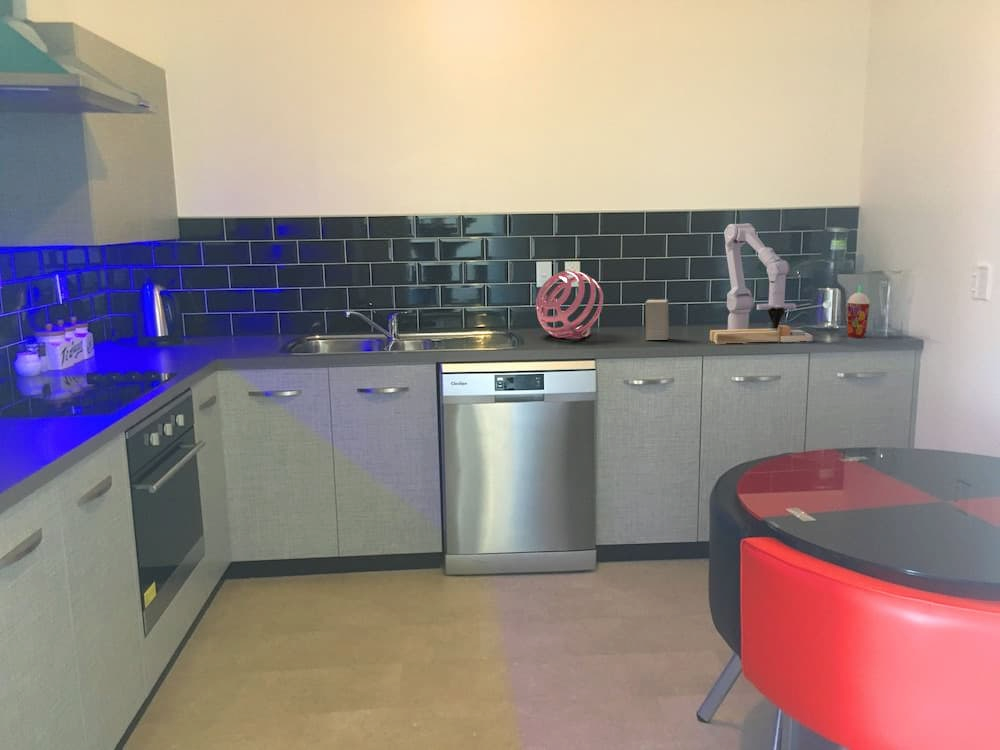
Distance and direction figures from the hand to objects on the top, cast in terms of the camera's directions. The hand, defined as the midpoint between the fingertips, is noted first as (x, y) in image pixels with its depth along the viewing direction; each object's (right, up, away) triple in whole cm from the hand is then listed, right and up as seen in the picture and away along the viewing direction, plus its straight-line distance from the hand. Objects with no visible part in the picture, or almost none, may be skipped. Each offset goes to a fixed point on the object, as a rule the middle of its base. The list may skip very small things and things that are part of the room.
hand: (775, 327), depth 323 cm
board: (-12, -5, 0) cm, 13 cm away
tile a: (+2, -2, 0) cm, 3 cm away
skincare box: (-44, -5, +7) cm, 45 cm away
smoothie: (+34, -3, +6) cm, 35 cm away
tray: (+7, -5, +1) cm, 8 cm away
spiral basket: (-79, -3, +17) cm, 81 cm away
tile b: (+8, -1, 0) cm, 8 cm away
